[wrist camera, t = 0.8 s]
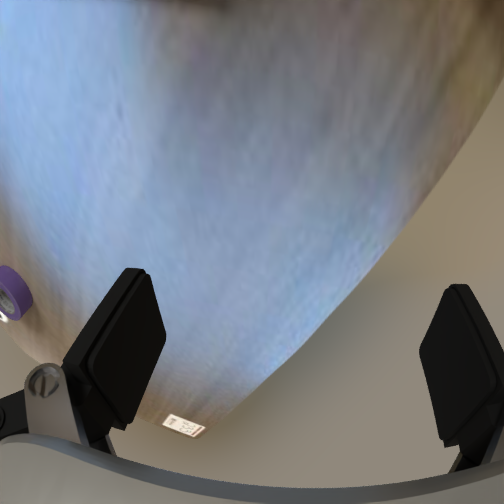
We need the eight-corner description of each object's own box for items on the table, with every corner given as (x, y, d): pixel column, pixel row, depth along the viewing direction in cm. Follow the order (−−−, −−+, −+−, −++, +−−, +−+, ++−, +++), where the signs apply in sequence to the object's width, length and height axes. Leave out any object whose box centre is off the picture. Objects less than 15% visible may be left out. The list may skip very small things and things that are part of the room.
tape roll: (-5, 280, 55) (-17, 292, 51) (2, 255, 50) (-12, 268, 46) (26, 313, 59) (16, 327, 55) (38, 293, 54) (25, 308, 50)
